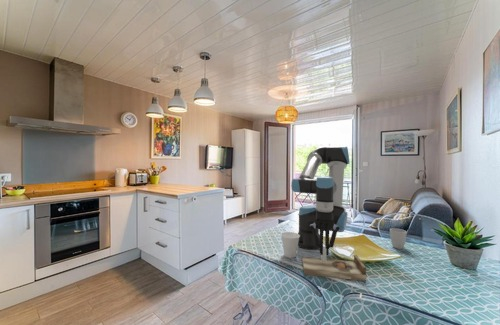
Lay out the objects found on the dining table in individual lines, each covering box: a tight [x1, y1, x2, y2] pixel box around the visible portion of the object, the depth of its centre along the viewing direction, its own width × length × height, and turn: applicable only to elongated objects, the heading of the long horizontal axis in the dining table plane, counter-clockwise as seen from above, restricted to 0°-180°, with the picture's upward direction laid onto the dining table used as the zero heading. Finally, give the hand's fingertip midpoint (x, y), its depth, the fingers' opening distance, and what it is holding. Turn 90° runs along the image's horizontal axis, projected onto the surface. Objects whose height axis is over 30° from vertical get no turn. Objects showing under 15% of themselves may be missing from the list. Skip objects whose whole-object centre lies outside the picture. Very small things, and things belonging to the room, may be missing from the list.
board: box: [301, 254, 367, 282], centre depth 94 cm, size 12×25×6 cm, turn 79°
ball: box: [337, 263, 345, 269], centre depth 94 cm, size 4×4×4 cm
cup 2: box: [389, 227, 407, 250], centre depth 123 cm, size 8×8×10 cm
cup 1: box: [280, 231, 300, 259], centre depth 109 cm, size 10×10×11 cm
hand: (324, 261), depth 95 cm, fingers closed
